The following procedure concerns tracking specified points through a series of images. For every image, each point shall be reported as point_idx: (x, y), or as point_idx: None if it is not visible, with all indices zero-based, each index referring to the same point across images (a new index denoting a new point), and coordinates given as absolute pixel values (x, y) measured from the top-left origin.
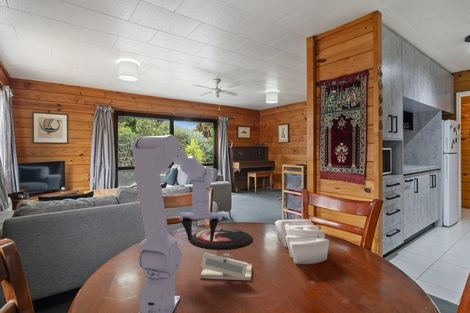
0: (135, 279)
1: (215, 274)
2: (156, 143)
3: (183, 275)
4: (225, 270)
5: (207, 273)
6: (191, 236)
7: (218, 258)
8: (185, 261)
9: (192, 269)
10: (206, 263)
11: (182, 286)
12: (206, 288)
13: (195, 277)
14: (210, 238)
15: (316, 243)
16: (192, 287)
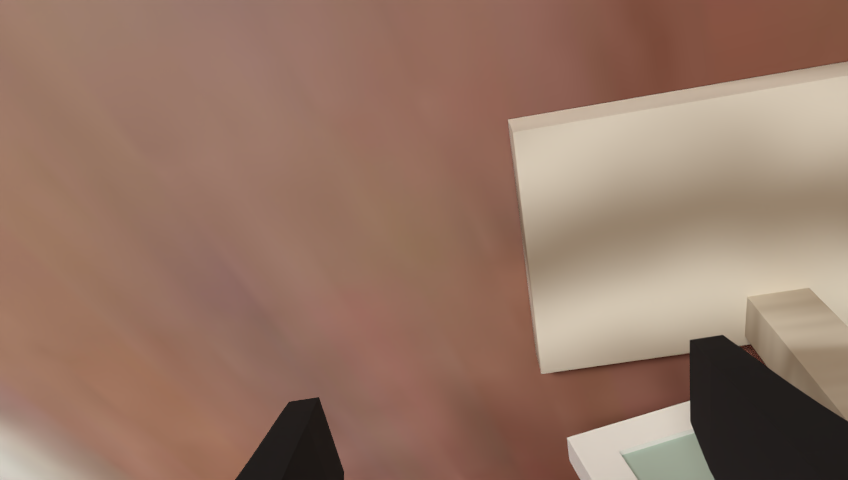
0: (43, 472)
1: (676, 346)
2: None
3: (368, 347)
4: None
5: (597, 346)
6: (316, 442)
7: None
8: (214, 83)
9: (393, 235)
10: (633, 470)
11: (443, 468)
12: None
13: (486, 350)
14: (718, 474)
15: None
16: (519, 462)
